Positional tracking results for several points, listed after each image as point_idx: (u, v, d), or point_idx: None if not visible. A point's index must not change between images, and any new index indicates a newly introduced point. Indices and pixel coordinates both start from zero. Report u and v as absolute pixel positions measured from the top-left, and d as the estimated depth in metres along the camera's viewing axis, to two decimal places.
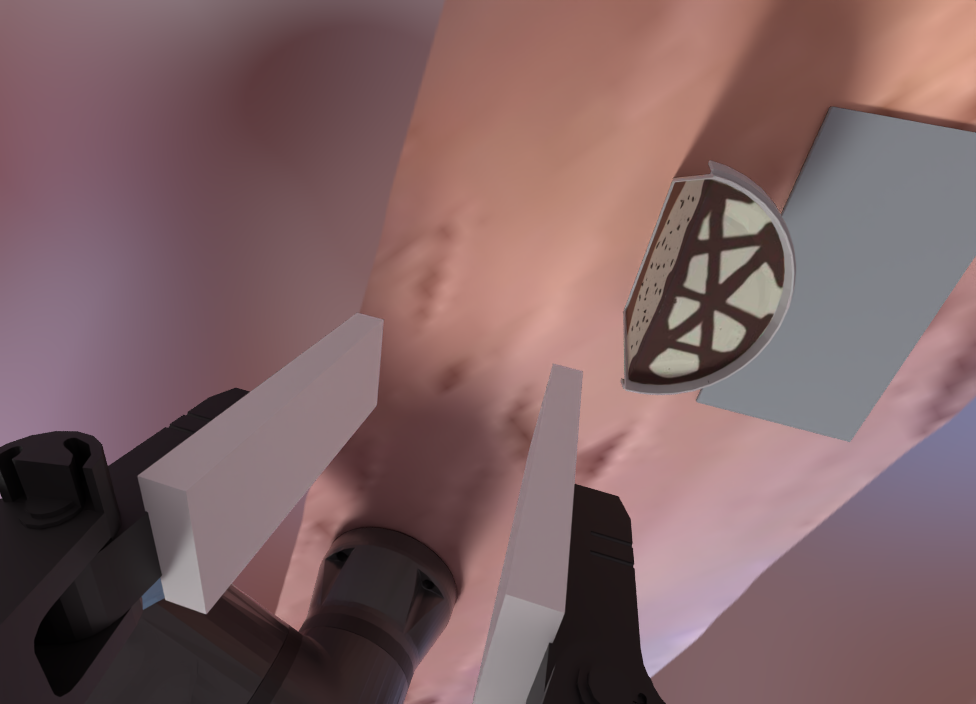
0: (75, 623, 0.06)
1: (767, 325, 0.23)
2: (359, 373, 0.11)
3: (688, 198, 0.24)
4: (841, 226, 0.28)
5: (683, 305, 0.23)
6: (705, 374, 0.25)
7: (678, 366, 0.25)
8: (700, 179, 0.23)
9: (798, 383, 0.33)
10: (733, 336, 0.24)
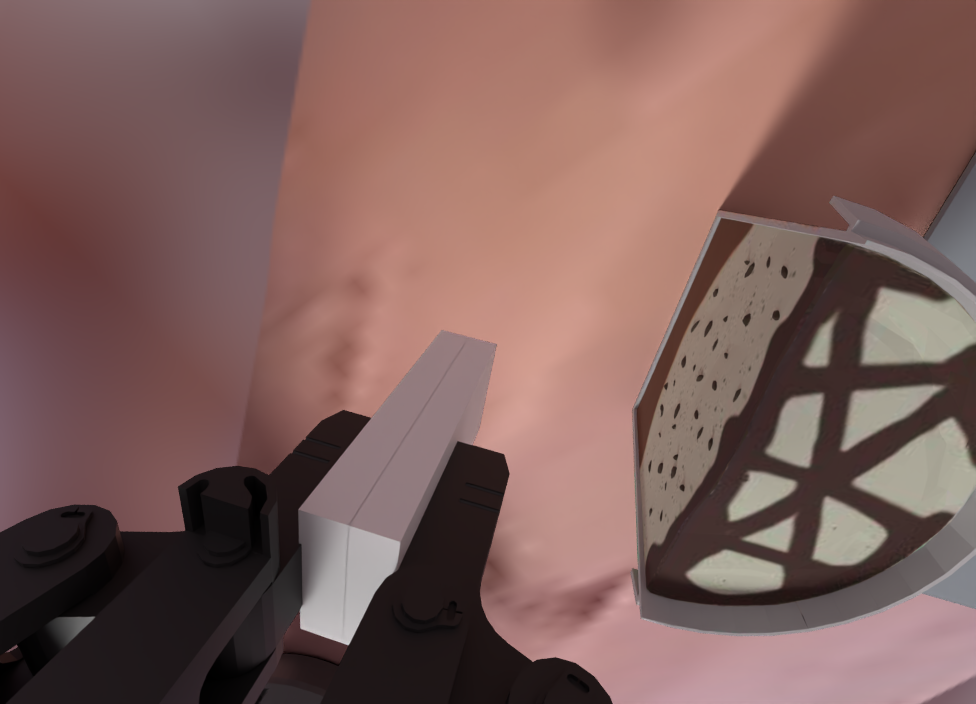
0: (229, 662, 0.06)
1: (938, 534, 0.11)
2: None
3: (768, 265, 0.12)
4: None
5: (761, 486, 0.12)
6: (794, 597, 0.13)
7: (742, 579, 0.13)
8: (803, 233, 0.11)
9: None
10: (858, 541, 0.12)
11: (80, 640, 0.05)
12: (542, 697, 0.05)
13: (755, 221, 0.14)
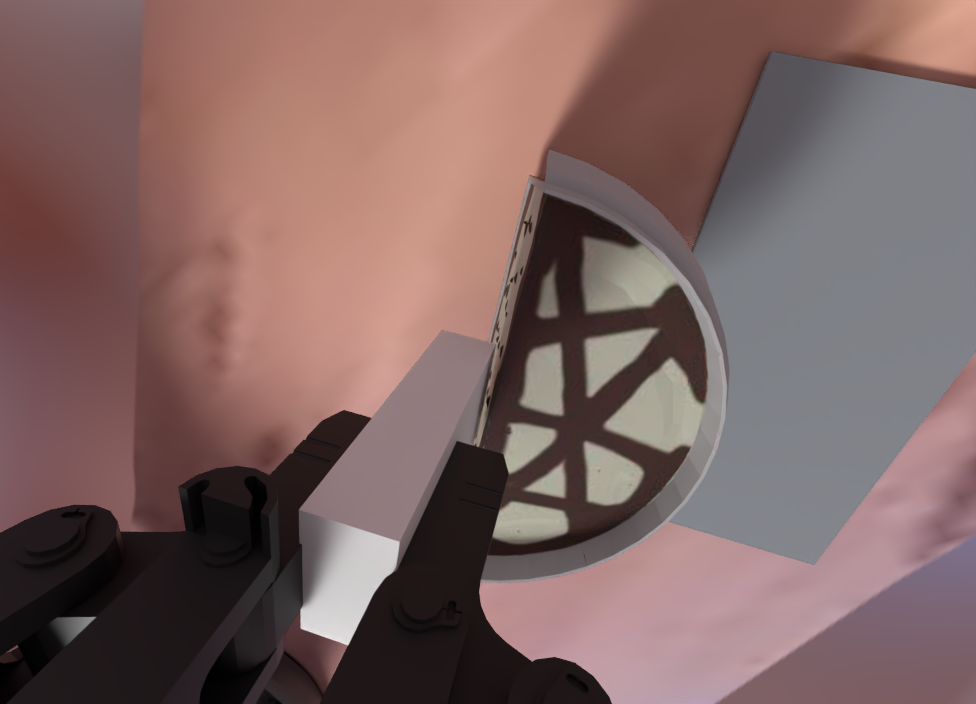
0: (229, 662, 0.06)
1: (680, 466, 0.12)
2: None
3: (528, 223, 0.12)
4: (793, 254, 0.17)
5: (524, 437, 0.12)
6: (580, 539, 0.14)
7: (533, 527, 0.14)
8: None
9: (736, 482, 0.22)
10: (622, 480, 0.13)
11: (79, 641, 0.05)
12: (541, 697, 0.05)
13: (532, 182, 0.14)
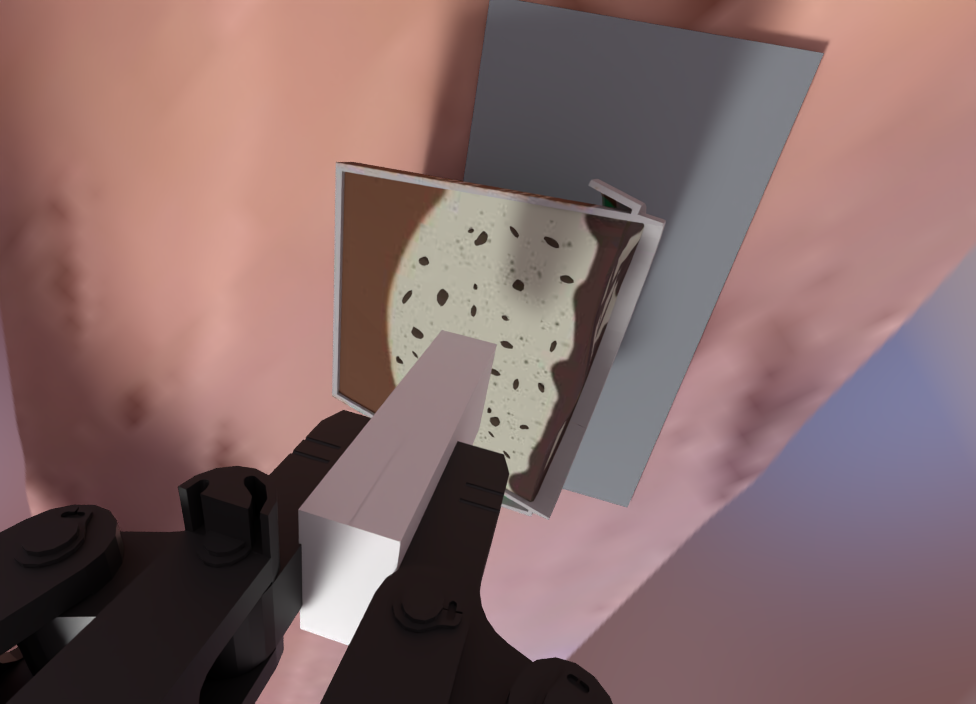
0: (229, 662, 0.06)
1: (604, 336, 0.19)
2: None
3: (518, 235, 0.13)
4: (547, 194, 0.18)
5: None
6: (569, 419, 0.20)
7: (557, 438, 0.18)
8: (558, 208, 0.12)
9: None
10: None
11: (78, 641, 0.05)
12: (542, 697, 0.05)
13: (455, 188, 0.13)
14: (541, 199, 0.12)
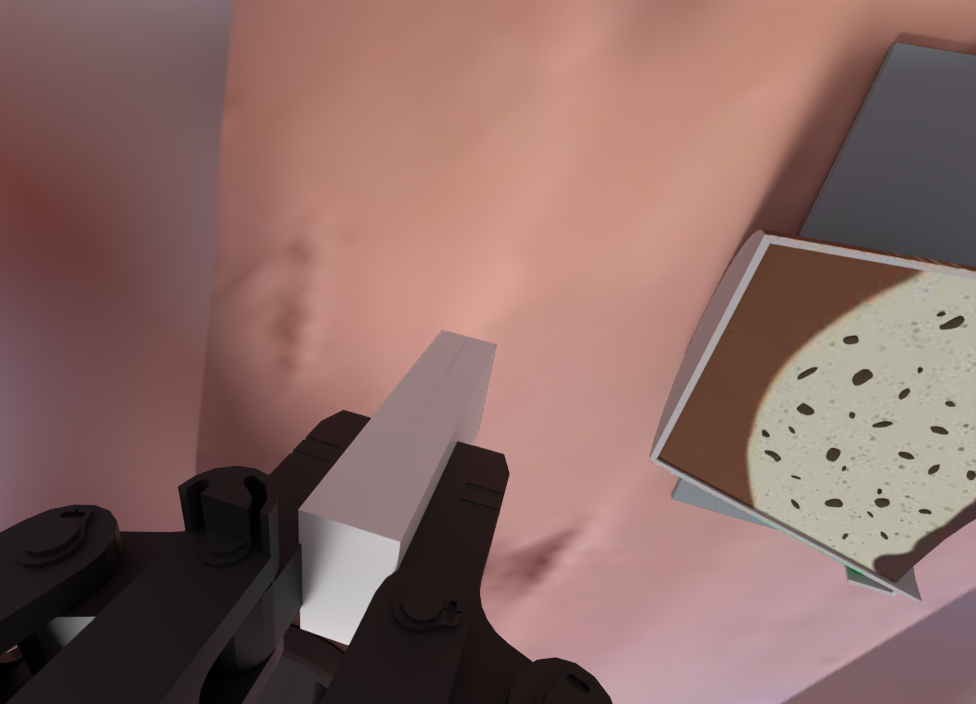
0: (229, 662, 0.06)
1: None
2: None
3: None
4: (902, 250, 0.17)
5: None
6: None
7: None
8: None
9: None
10: None
11: (79, 641, 0.05)
12: (542, 697, 0.05)
13: (941, 271, 0.12)
14: None
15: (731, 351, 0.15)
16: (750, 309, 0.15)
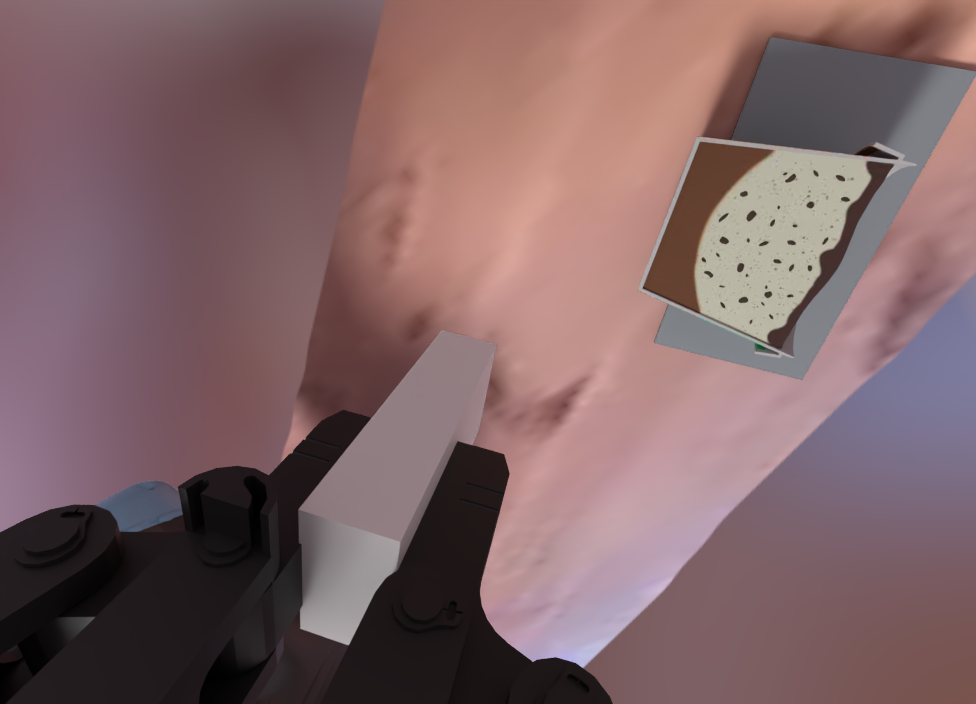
0: (229, 662, 0.06)
1: None
2: None
3: (818, 175, 0.24)
4: None
5: None
6: None
7: None
8: (850, 158, 0.23)
9: None
10: None
11: (78, 641, 0.05)
12: (542, 697, 0.05)
13: (782, 149, 0.24)
14: (841, 153, 0.23)
15: (683, 209, 0.27)
16: (692, 181, 0.27)
